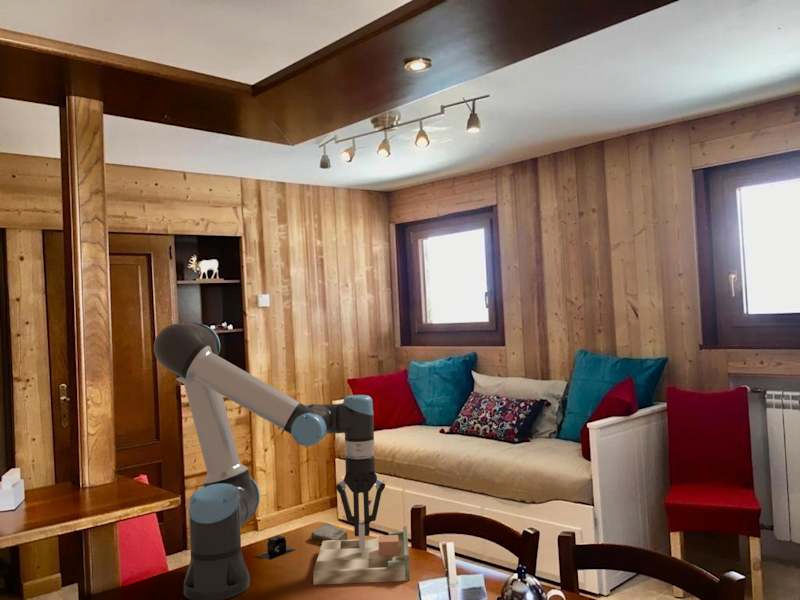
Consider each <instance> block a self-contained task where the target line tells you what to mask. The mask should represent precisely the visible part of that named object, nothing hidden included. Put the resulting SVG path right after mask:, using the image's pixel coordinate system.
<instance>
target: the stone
mask: <svg viewBox="0 0 800 600" xmlns="http://www.w3.org/2000/svg"><path fill="white" fill-rule="evenodd" d="M310 535H311V538H310V539H311V541H312V540H313V541H312V542H314V543H317V544H318V543H319V544H318V545H321V544H322V542H323V541H327V540H349V539H348V531H347V530H345V529H343V528H339V527H337V526H336V525H334V524H331V523H328V522H323V523H322V524H321V525H320V526H319V527H317V528H315V529H314V530H313V531H312V532H311V534H310Z"/></svg>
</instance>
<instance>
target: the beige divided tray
mask: <svg viewBox="0 0 800 600" xmlns="http://www.w3.org/2000/svg"><path fill="white" fill-rule="evenodd" d="M388 535H398V546H399V555H397V556H379V537H378V538H377V537H376V538H365V541H366V548H365V550H359V538H356V539H355V538H354V539H347V540H327V541H323V542H322V545H321V544H320V545H321V546H320V549H319V551H318V552H319V553H318V556H317V558H316V562H315V566H314V568H313V572H312V573H313V575H312V576H313V578H312V579H313V580H312V581H313V586H314V585H335V584H338V585H340V584H357V583H358V584H359V583H360V584H361V583H362V584H363V583H379V582H380V583H381V582H382V583H384V582H409V581H408V580H411V579H410V554H409V552H410V551H409V539H408V527H407V526H406V525H404V526H402V531H393V532H392V531H389V532H388Z"/></svg>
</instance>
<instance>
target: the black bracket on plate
mask: <svg viewBox="0 0 800 600" xmlns="http://www.w3.org/2000/svg"><path fill="white" fill-rule="evenodd" d="M266 544H267V551H265V552H263V553H260V554H258V555H256V557H260V558H262V559H265V560H268V561H271V560H274V559H276V558H279V557H280V556H283V555H286V554H289V553H291V552H294V551H296V550H297V549H296V548H292V547H290V546H287V540H286V536H284V535H280V534H278V535H275V536H271V537H268V538H267V543H266Z"/></svg>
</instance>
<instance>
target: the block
mask: <svg viewBox="0 0 800 600" xmlns="http://www.w3.org/2000/svg"><path fill="white" fill-rule="evenodd" d="M378 538H379V556H397V555H399V546H398V535H389V534H388V535H378Z"/></svg>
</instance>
